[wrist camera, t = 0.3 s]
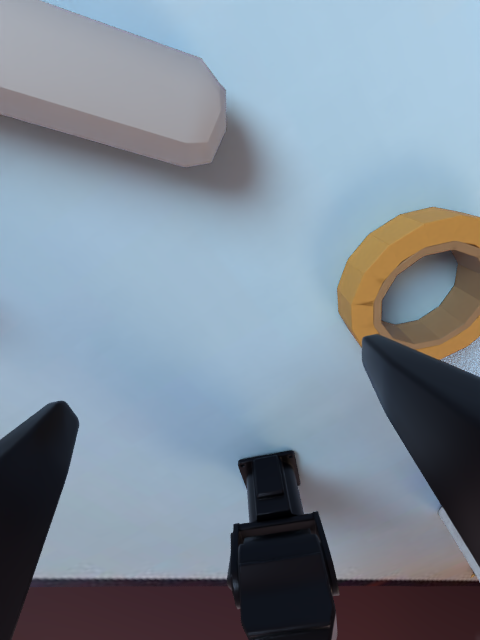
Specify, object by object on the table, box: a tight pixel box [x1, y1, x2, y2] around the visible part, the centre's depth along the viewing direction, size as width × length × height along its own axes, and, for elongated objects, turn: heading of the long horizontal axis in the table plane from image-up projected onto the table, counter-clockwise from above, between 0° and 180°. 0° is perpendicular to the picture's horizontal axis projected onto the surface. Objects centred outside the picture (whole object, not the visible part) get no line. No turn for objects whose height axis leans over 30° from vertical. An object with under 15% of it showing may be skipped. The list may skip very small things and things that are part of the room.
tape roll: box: [337, 207, 480, 360], centre depth 22 cm, size 12×12×3 cm
